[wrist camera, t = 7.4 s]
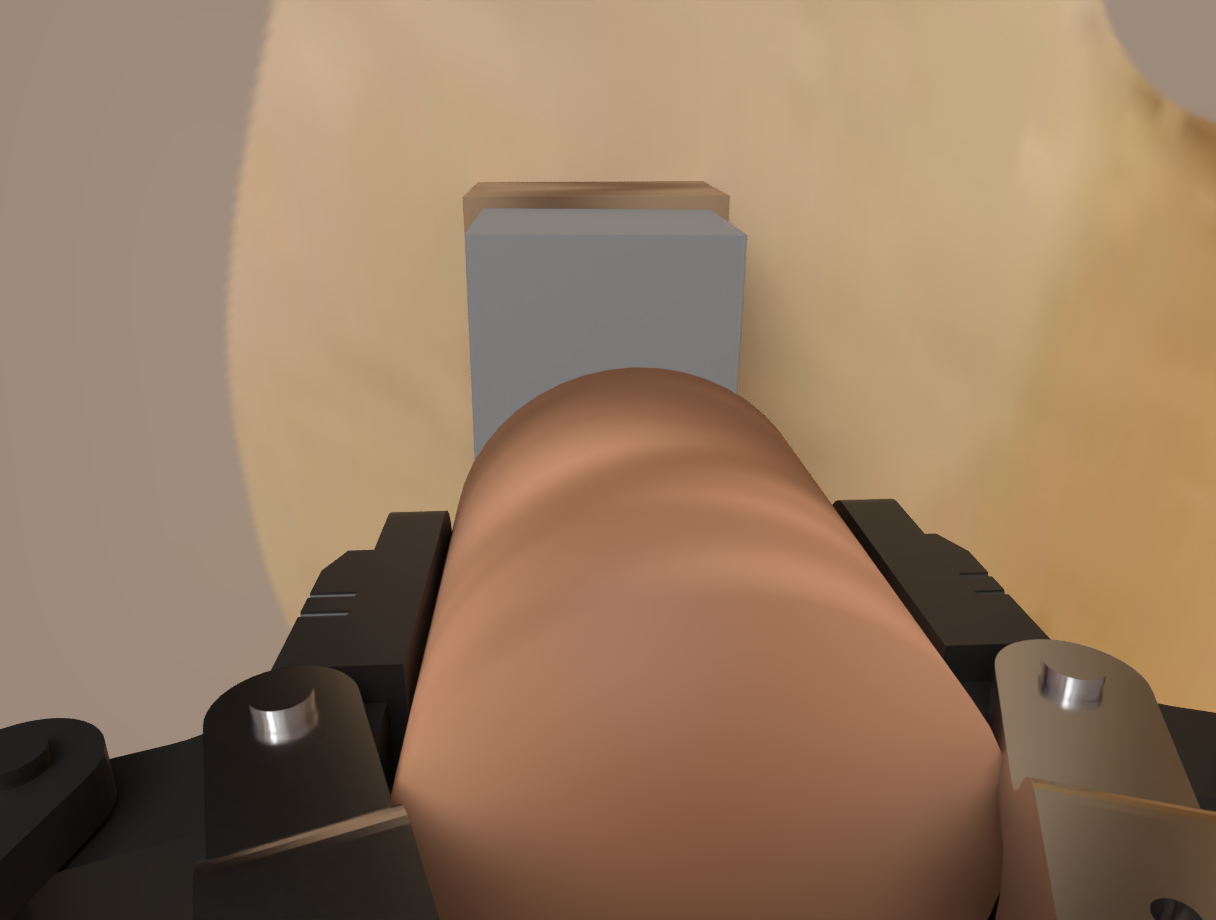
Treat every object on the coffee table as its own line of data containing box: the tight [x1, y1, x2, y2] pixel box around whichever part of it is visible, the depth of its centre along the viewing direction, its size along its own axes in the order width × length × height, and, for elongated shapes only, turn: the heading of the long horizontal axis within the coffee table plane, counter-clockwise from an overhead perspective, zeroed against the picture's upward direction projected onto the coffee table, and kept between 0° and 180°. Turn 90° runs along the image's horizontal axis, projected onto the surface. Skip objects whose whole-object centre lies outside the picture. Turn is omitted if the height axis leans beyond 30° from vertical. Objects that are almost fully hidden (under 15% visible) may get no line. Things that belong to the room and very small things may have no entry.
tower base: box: [463, 181, 730, 233], centre depth 27 cm, size 7×7×5 cm
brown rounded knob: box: [391, 367, 1003, 920], centre depth 10 cm, size 5×5×6 cm
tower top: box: [465, 208, 747, 460], centre depth 23 cm, size 6×6×5 cm
